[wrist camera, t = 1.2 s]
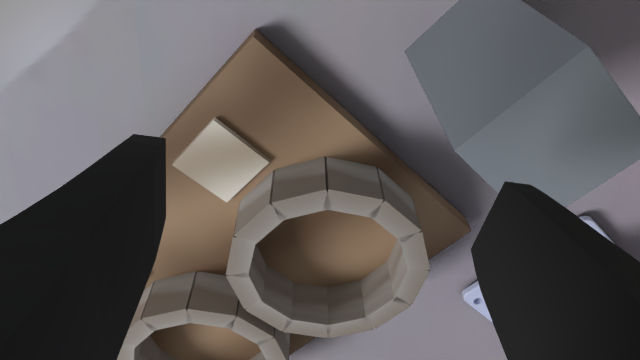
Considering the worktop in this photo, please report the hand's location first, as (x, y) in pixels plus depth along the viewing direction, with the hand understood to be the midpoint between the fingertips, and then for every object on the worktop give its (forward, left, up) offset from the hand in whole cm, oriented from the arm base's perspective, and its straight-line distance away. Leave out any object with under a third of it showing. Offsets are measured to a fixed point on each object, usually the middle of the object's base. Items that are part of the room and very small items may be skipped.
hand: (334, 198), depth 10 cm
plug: (-5, -4, -11) cm, 13 cm away
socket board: (-5, +12, -11) cm, 17 cm away
